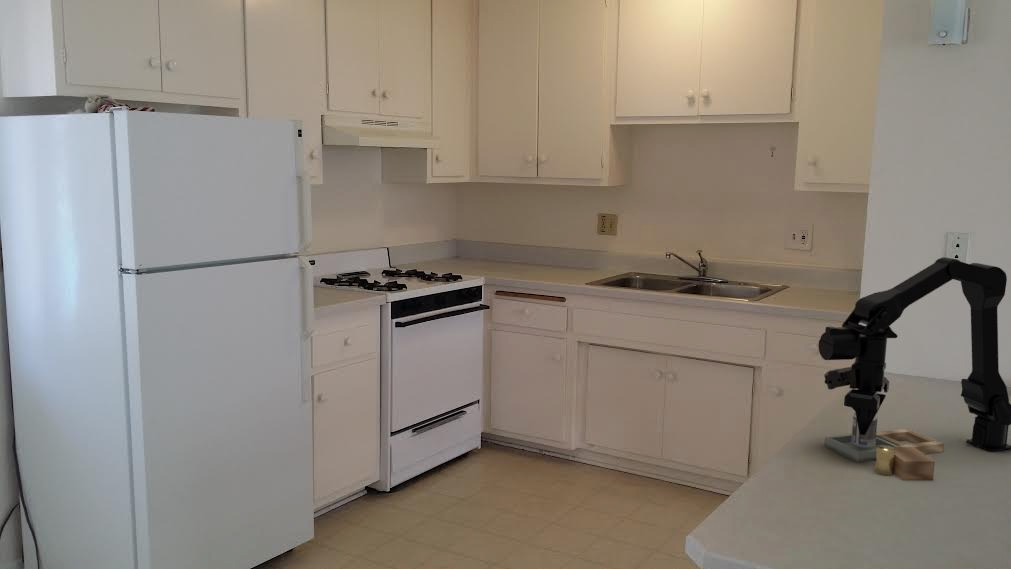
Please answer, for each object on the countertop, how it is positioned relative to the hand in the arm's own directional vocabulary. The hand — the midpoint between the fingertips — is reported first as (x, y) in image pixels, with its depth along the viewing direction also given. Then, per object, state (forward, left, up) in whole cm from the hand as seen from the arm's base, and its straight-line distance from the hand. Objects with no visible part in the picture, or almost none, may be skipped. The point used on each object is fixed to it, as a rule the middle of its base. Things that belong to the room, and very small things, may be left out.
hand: (864, 431), depth 179 cm
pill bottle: (0, 0, -3) cm, 3 cm away
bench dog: (+5, +11, -4) cm, 13 cm away
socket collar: (-11, 0, -4) cm, 12 cm away
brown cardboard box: (0, +12, -5) cm, 13 cm away
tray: (0, 0, -4) cm, 4 cm away
